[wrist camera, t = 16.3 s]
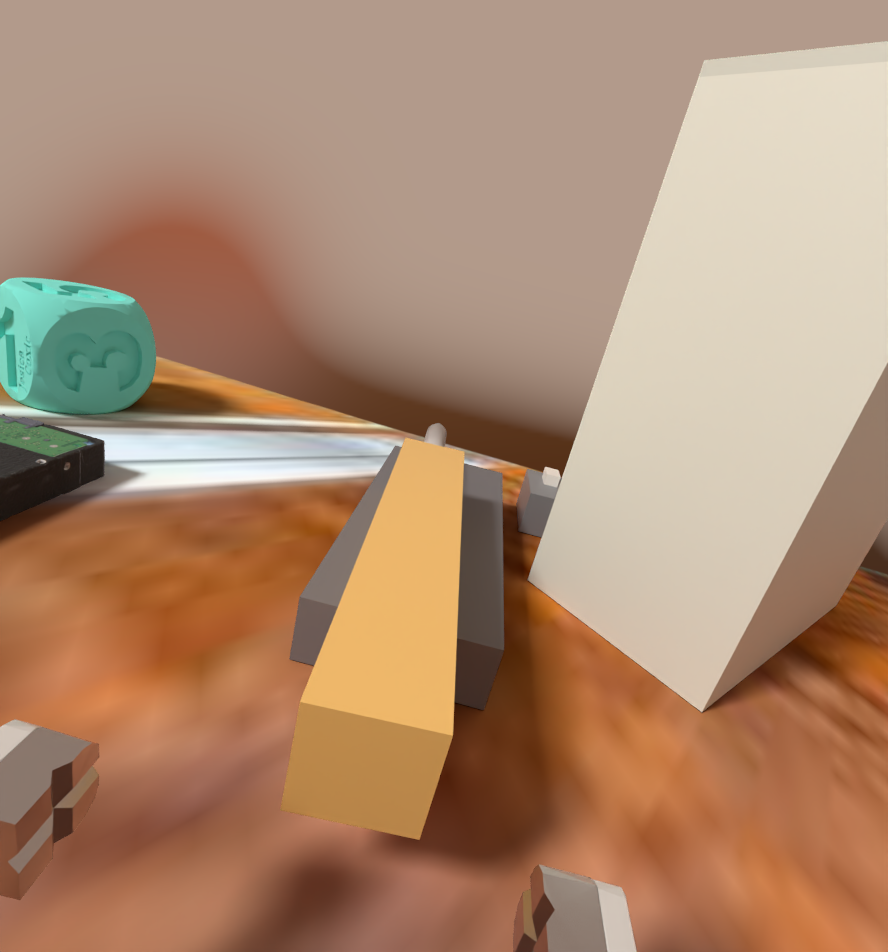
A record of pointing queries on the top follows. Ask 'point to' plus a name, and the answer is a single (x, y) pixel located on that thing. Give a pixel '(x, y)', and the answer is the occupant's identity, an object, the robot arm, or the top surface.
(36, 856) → the robot arm
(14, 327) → the decorative dice
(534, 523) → the switch box
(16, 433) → the disk drive
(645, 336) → the slotted cream upright block
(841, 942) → the top surface
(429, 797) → the long orange square stick
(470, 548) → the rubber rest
